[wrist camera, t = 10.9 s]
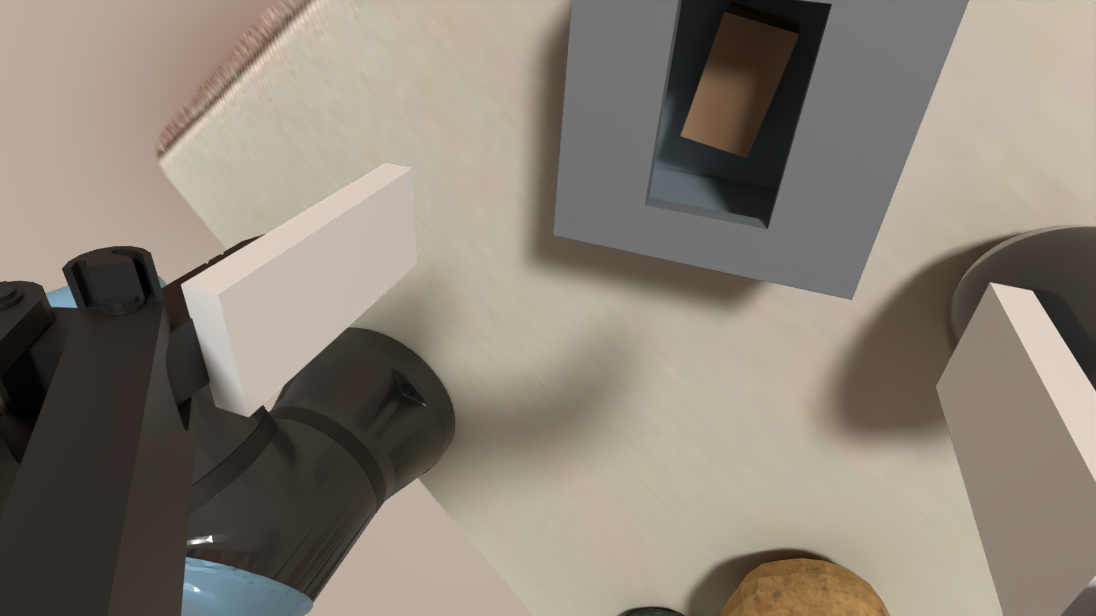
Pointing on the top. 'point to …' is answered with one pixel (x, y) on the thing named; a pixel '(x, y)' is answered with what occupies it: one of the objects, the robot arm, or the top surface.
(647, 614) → the coffee jar
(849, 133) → the box
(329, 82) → the top surface
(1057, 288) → the black dome cover
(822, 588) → the potato
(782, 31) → the block
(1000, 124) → the top surface
